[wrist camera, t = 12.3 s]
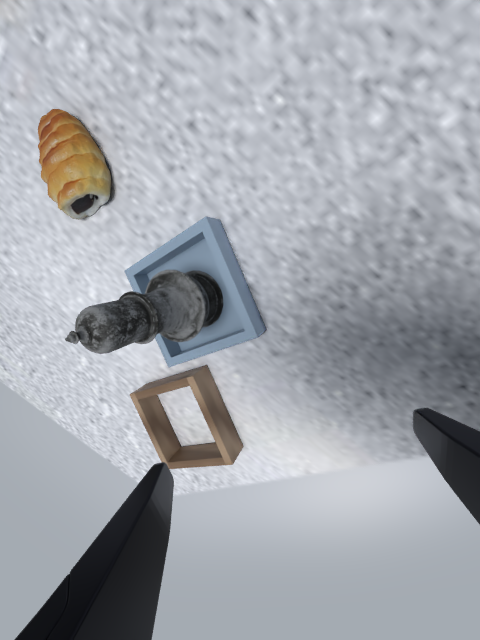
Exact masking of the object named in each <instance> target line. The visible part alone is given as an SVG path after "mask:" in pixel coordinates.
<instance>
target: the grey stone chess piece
mask: <svg viewBox="0 0 480 640" xmlns="http://www.w3.org/2000/svg"><path fill="white" fill-rule="evenodd" d="M222 309H223V295H222V291H221V289H220V287H219V285H218V283H217V282H216V281H215V280H214V278H213V277H212V276H210V275H209V274H207V273H205V272H202V271H195V270H193V271H189V272H186V273H183V272H180V271H178V270H164V271H161V272H158V273H157V274H156V275H154V276H153V277H152V279H151V280H150V281H149V283H148V285H147V288H146V291H145V294H141V293H139V292H132V291H131V292H127V293H125V294H123V295H122V296H121V297H120V299H119V300H117V301H112V302H108V303H103V304H98V305H93V306H89V307H87V308H85V309H84V310H82V311H81V312H80V314H79V315H78V317H77V319H76V325H75V330H76V332H74V331H71V332H70V333H69V335H68V336H67V338H66V339H65V340H66V341H69V342H71V343H74V344H77V343H78V341H80V342H81V343H82V345H83V346H84V347H86V348H87V349H88V350H90V351H92V352H95V353H99V354H103V353H110V352H112V351H114V350H117V349H119V348H122V347H124V346H127V345H129V344H131V343H134V342H135V343H139V344H146V343H149V342H151V341H152V340H153V339H154V338H155V337H156V335H157V334H161V335H162V336H163V337H164V338H166V339H169V340H171V341H174V342H186V341H189V340H191V339H193V338H194V337H196V335H197V334H198V333H199V332H200V331H201V329H202V328H203V327H208V326H210V325H212V324H214V323H215V322H216V321H217V320H218V319H219V317H220V315H221V313H222Z"/></svg>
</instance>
